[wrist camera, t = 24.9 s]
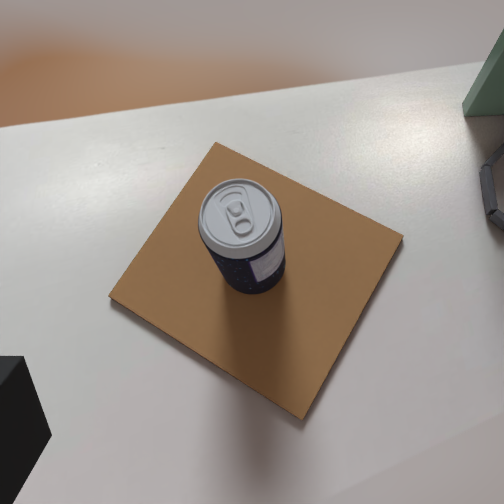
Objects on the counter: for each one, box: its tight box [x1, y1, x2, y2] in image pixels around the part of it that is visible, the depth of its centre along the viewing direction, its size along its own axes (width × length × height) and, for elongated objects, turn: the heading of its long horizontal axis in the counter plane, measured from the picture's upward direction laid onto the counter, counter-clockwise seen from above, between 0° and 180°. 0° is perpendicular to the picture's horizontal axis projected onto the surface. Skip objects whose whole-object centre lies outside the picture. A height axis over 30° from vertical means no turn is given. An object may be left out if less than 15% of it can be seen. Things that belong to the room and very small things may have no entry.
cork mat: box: [108, 142, 403, 420], centre depth 41 cm, size 20×18×1 cm
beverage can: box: [198, 179, 286, 294], centre depth 35 cm, size 6×6×12 cm
